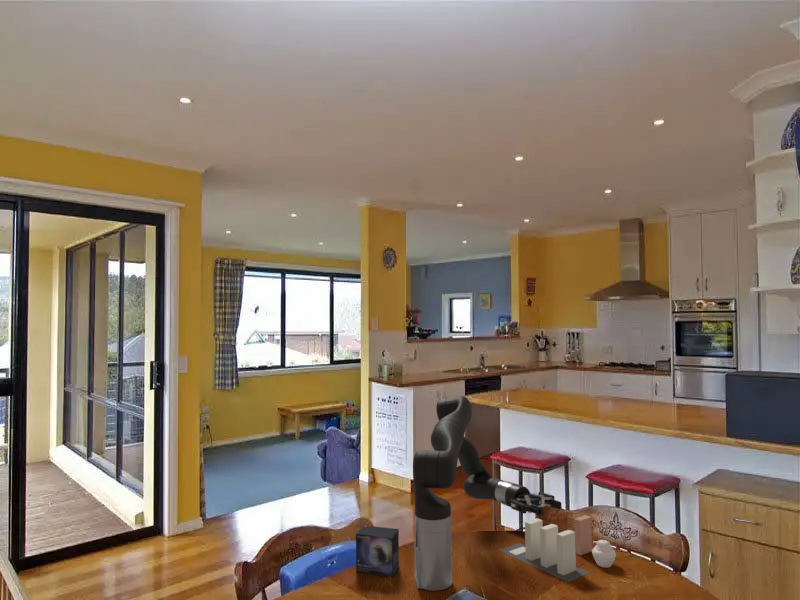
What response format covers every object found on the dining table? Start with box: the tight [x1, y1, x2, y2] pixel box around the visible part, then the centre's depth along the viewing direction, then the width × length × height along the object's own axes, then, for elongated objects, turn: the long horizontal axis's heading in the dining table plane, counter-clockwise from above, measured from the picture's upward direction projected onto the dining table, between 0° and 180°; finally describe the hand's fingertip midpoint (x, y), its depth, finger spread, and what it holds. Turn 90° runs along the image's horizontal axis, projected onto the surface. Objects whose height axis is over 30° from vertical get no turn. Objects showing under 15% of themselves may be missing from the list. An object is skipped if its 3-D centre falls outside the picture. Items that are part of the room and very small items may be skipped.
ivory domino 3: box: [556, 529, 577, 575], centre depth 146 cm, size 2×5×10 cm, turn 125°
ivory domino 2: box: [540, 523, 559, 568], centre depth 150 cm, size 2×5×10 cm, turn 125°
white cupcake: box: [591, 539, 617, 569], centre depth 150 cm, size 6×6×7 cm
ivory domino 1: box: [524, 517, 544, 561], centre depth 155 cm, size 2×5×10 cm, turn 125°
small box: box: [355, 524, 400, 578], centre depth 149 cm, size 11×6×10 cm, turn 73°
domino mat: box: [498, 542, 591, 583], centre depth 152 cm, size 24×9×1 cm, turn 35°
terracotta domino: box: [573, 515, 593, 556], centre depth 158 cm, size 2×5×10 cm, turn 125°
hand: (551, 508), depth 168 cm, fingers open, 8 cm apart
